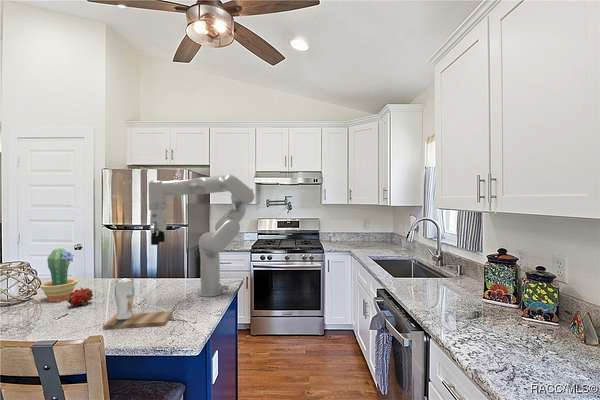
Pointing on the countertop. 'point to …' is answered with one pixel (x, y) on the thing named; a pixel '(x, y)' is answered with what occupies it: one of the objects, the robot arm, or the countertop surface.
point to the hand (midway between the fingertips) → (158, 243)
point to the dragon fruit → (80, 297)
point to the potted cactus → (59, 276)
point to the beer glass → (124, 298)
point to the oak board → (140, 320)
